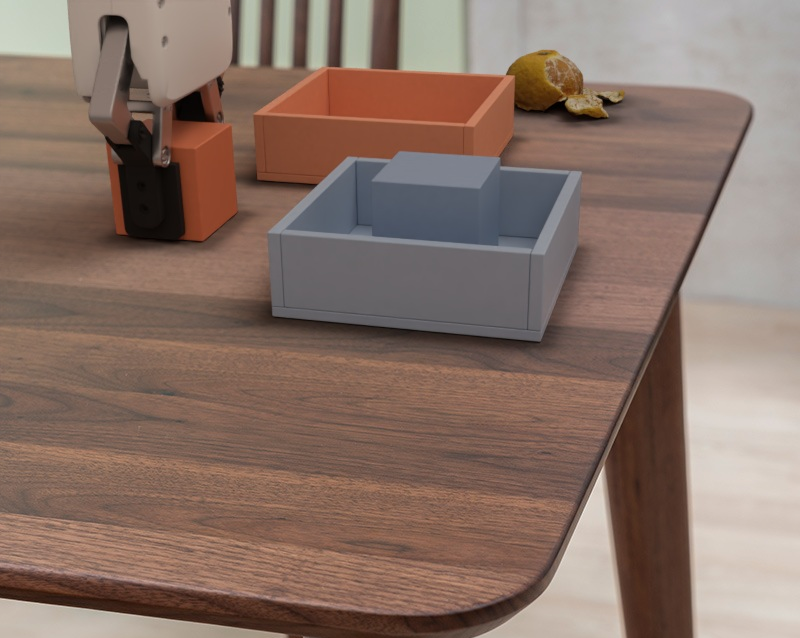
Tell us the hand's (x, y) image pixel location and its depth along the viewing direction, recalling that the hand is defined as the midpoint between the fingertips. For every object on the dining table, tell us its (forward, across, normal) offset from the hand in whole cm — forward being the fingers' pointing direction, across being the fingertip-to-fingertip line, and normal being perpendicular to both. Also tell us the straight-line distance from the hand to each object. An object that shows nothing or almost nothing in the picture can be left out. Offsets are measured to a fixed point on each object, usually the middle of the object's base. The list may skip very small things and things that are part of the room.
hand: (177, 215), depth 68 cm
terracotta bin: (0, -15, +8) cm, 17 cm away
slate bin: (0, +5, +16) cm, 16 cm away
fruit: (+1, -30, +17) cm, 34 cm away
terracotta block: (0, 0, 0) cm, 0 cm away
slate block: (0, +5, +16) cm, 16 cm away
